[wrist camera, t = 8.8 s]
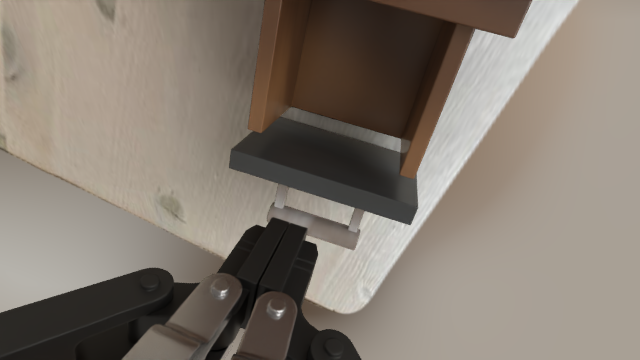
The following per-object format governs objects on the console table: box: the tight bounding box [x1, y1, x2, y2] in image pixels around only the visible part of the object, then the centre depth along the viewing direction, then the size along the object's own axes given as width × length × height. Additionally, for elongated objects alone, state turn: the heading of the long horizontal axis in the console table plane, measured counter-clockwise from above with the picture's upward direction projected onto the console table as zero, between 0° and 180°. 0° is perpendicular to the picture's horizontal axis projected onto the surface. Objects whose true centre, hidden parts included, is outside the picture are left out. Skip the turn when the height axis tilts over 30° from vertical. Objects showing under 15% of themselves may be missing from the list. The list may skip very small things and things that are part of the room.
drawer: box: [229, 0, 475, 250], centre depth 20 cm, size 18×10×7 cm, turn 167°
